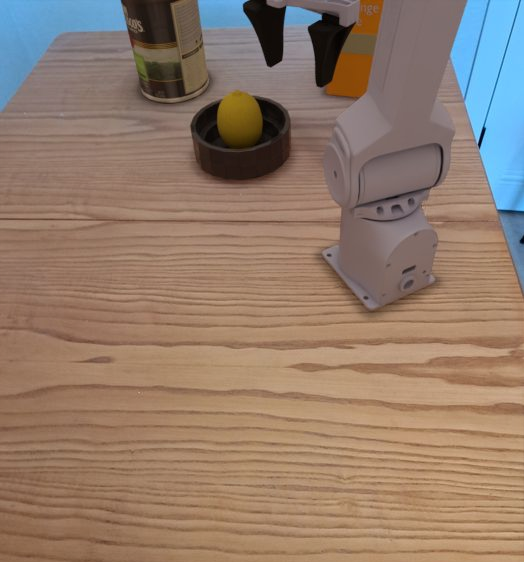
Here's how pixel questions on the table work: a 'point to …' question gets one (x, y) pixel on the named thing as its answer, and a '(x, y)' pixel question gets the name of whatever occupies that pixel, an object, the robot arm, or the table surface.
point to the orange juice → (357, 53)
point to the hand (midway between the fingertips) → (298, 73)
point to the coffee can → (167, 48)
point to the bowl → (244, 161)
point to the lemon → (239, 120)
